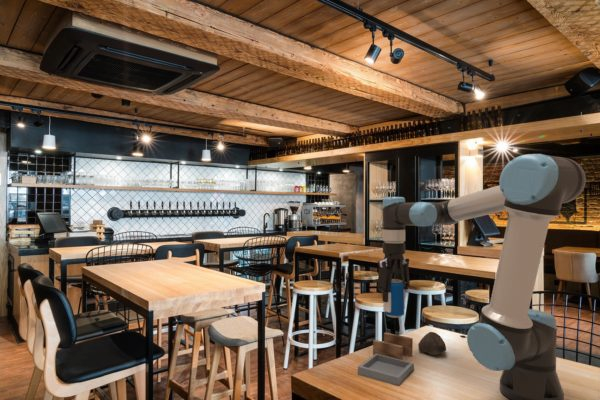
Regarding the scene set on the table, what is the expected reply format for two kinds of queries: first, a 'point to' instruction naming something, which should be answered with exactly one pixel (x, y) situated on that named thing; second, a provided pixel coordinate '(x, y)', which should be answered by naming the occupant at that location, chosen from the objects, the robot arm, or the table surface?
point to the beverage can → (396, 299)
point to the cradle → (393, 346)
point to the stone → (432, 344)
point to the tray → (386, 369)
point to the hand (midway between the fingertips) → (394, 309)
